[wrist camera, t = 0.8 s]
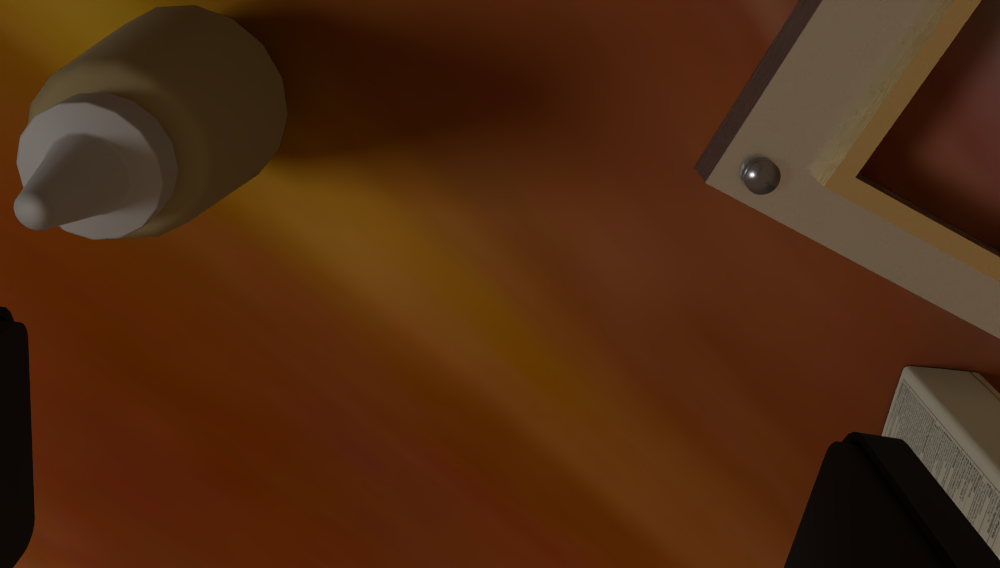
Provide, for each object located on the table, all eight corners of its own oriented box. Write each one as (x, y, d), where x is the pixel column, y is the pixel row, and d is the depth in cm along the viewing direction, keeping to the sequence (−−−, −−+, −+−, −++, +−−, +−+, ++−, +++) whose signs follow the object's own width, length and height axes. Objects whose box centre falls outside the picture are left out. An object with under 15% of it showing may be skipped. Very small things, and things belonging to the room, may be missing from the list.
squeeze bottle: (340, 102, 42) (238, 237, 25) (216, 200, 44) (47, 384, 27) (220, -44, 39) (19, 1, 23) (94, 67, 41) (-176, 183, 24)
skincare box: (945, 463, 50) (1073, 624, 39) (869, 457, 50) (976, 618, 39) (980, 367, 48) (1128, 510, 37) (900, 360, 47) (1024, 502, 36)
